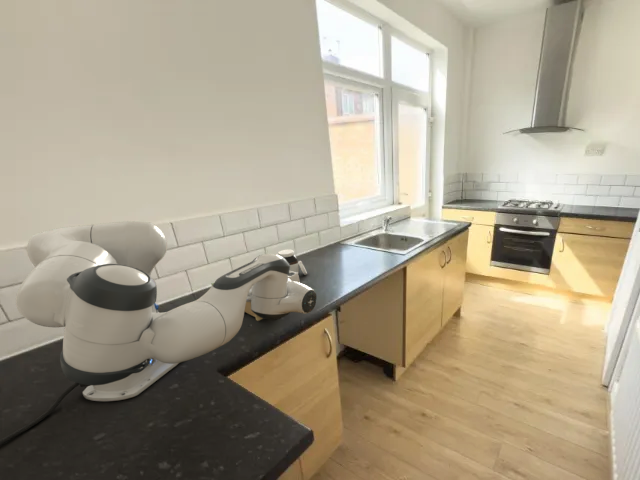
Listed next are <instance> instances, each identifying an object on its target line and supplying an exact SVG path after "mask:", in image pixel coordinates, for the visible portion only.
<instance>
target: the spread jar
mask: <svg viewBox="0 0 640 480" xmlns="http://www.w3.org/2000/svg"><path fill="white" fill-rule="evenodd" d="M277 255H280V256H283V257H284V258H285V259H286V261H287V262H288V263H289V265H290V271H293V272H297V273H298V275H299V276H300V270H301V272H302V274H303V275H304V276H306V275H308V272H307V269H306V268H305V264H304V263H303V261H302V260H298V258H297V256H296V255H295V251H294V250H293V249H283V250H282V249H281V250H279V251H278V252H277Z"/></svg>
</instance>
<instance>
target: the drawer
mask: <svg viewBox="0 0 640 480" xmlns="http://www.w3.org/2000/svg"><path fill="white" fill-rule="evenodd" d="M244 313H246V314H248V315H250V316H252V317H254V318H255V321H257V322H259V321H261V320H263V319H264V318H261V317H259V316H257V315H256V314H255V313H253V311H252V310H251V302H246V305H245V311H244Z"/></svg>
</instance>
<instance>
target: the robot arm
mask: <svg viewBox="0 0 640 480" xmlns="http://www.w3.org/2000/svg"><path fill="white" fill-rule="evenodd" d="M167 251H168V239H167V236H166V235H165V233H164V231H163V230H162V229H161V228H160V227H159V226H157V224H154V223H153V222H148V221H135V220H124V221H114V222H105V223H104V222H103V223H95V224H93V223H91V224H83V225H72V226H62V227H61V226H60V227H57V228H53V229H49V230H45V231H44V230H43V231H41V232H37V233H34V234H33V235H32V236H31V237H30V239H29V240H28V242H27V245H26V253H27V257H28V259H29V261H30V262H31V264H32V265H33V266H34V267H33V269H31V271H30V272H29V273H27V275H26V276H25V278H24V279H23V281H22V283H21V285H20V286H19V288H18V290H17V293H16V295H15V306H16V309H17V311H18V312H19V314H20V315H21V316H22V317H23V318H24V319H26V320H27V321H29V322H30V323H33V324H35V325H37V326H41V327H47V328H64V330H63V337H62V338H63V340H62V350H61V351H60V354H59V362H60V363H59V364H60V367H61V372H62V373H63V375H64V377H65V378H66V379H68V380H69V381H71V382H74V383H73V384H71V385H70V386H68V387H67V388H66V389H65V390H64V391H62V393H60V395H59V396H58V397H57V398H56V399H55V401H54V402H53V403H52V405H50V407H49V408H48V409H47V410H46V411H45V412H43V413H41V415H39V416H38V417H37V418H35V419H34V420H33V421H31V422H29V423H28V424H25V425H24V426H22V427H21V428H18V429H17V430H15V431H14V432H11V433H10V434H8V435H6V436H5V437H3V438H1V439H0V446H2V445H4V444H6V443H7V442H9V441H11V440H13V439H14V438H15V437H17V436H19V435H21V434H23V433H24V432H26V431H28V430H30V429H31V428H33V427H35V426H36V425H37V424H39V423H41V422H42V421H43V420H45V419H46V418H47V417H48V416H49V415H50V414H52V413H53V412H55V410H56V409H57V407H59V405H60V404H61V402H62V401H63V400H64V398H65V397H66V396H68V395H69V393H71V392H72V391H73V390H74V389H76V388H77V387H78V386H79V385H80V388H81V387H86V388H84V390H83V391H82V395H83V397H84V398H85V399H86V400H89V401H93V402H94V401H95V402H116V401H122V400H123V401H124V400H128V399H131V398H135V397H137V396H138V395H140V394H141V393H142V392H144V391H145V390H146V389H148V388H149V387H150V386H151V385H153V384H154V383H155V382H156V381H158V380H159V379H161V378H162V377H163V376H165V375H166V374H167V373H168V372H169V371H171V370H172V369H174V368H175V367H177V366H178V365H179V364H180V363H184V362H187V361H190V360H194V359H196V358H199V357H201V356H204V355H207V354H208V353H211V352H213V351H215V350H217V349H219V348H220V347H222V346H225V345H226V344H228V343H229V342H231V340H233V338H234V337H235V336H237V334H238V333H239V331H240V330H241V328H242V325H243V321H244V316H245V312H244V311H245V305H246V302H251V310H252V311H253V313H255V314H256V315H257V316H259V317H261V318H263V319H264V320H270V321H274V320H275V321H276V320H280V319H282V318H284V317H287V316H288V315H290V314H291V313H299V314H310V313H311V312H312V311H314V309H315V307H316V304H317V292H316V291H315V289H313V288H312V287H311V286H308V285H307V284H304V283H302V282H300V274H299V275H298V273H297V272H293V271H290V265H289V263H288V262H287V261H286V259H285V258H284V257H283V256H280V255H278V254H275V253H264V254H259V255H258V256H256V257H255V258H254V259H253V260H252V261H249V262H248V263H245V264H244V265H241V266H239V267H237V268H235V269H233V270H230V271H229V272H226V273H225V274H223V275H221V276H219V277H218V278H217V279H216V280H215V281H214V282H215V283H214V282H213V283H214V284H213V286H212V285H211V286H210V288H209V289H208V290H207V291H206V292H205V293H204V294H203V295H202V296H200V297H199V298H198V299H196V300H194V301H191V302H187V303H185V304H182V305H179V306H177V307H174V308H172V309H170V310H168V311H165V312H159V309H158V310H157V309H155V306H154V303H156V302H157V297H158V289H157V282H156V280H154V278H153V277H151V275H152V272H153V270H154V269H155V267H156V266H157V264H158V263H159V262H160V261H161V260H162V259H164V257H165V255H166V253H167Z"/></svg>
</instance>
